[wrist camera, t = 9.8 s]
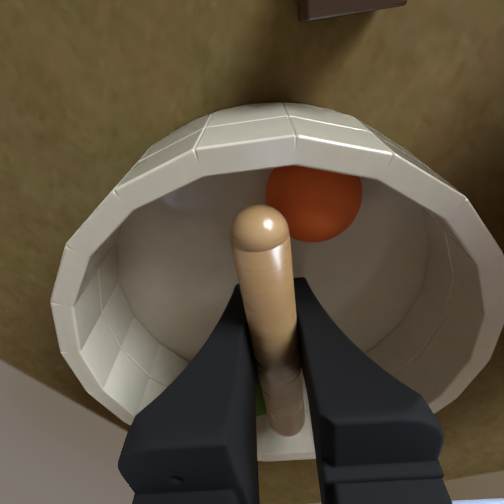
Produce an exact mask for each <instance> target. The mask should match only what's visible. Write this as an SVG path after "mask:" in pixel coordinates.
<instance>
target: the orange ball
mask: <svg viewBox="0 0 504 504" xmlns="http://www.w3.org/2000/svg"><path fill="white" fill-rule="evenodd" d="M361 202H362V184H361V180H360V177H356V176H351V175H345V174H340V173H334V172H329V171H323V170H318V169H312V168H307V167H301V166H295V165H292V166H284V167H277V168H274V169H273V171H272V172H271V174H270V176H269V179H268V182H267V186H266V205H268V206H271V207H273V208H275V209H276V210H278V211H279V212H280V213H281V214H282V215H283V216H284V218H285V219H286V221H287V223H288V227H289V233H290V237H291V238H293V239H296V240H298V241H302V242H310V243H315V242H322V241H327V240H330V239H332V238H334V237H336V236H338V235H339V234H341V233H342V232H343V231H345V230H346V229H347V228H348V227H349V226H350V225H351V224H352V222H353V221H354V219H355V218H356V216H357V214H358V211H359V209H360V206H361Z"/></svg>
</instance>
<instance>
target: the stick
mask: <svg viewBox="0 0 504 504" xmlns="http://www.w3.org/2000/svg"><path fill="white" fill-rule="evenodd" d="M229 235H230V243H231V247H232V252H233V257H234V262H235V266H236V271H237V276H238V280H239V285H240V290H241V294H242V299H243V304H244V309H245V313H246V318H247V323H248V327H249V332H250V337H251V341H252V346H253V351H254V355H255V360H256V365H257V370H258V374H259V379H260V384H261V388H262V393H263V398H264V402H265V407H266V412H267V417H268V421H269V424H270V426H271V428H272V429H273V431H274V432H276V433H277V434H278V435H280V436H283V437H292V436H294V435H296V434H298V433H299V432H300V431H301V429H302V428H303V426H304V423H305V408H304V396H303V385H302V373H301V361H300V350H299V338H298V326H297V315H296V303H295V291H294V280H293V268H292V256H291V245H290V233H289V227H288V223H287V221H286V219H285V218H284V216H283V215H282V214H281V213H280V212H279V211H278V210H276V209H275V208H273V207H271V206H268V205H264V204H255V205H251V206H248V207H246V208H244V209H242V210H241V211H240V212H239V213H238V214H237V215H236V216H235V218H234V219H233V221H232V224H231V226H230V233H229Z"/></svg>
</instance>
